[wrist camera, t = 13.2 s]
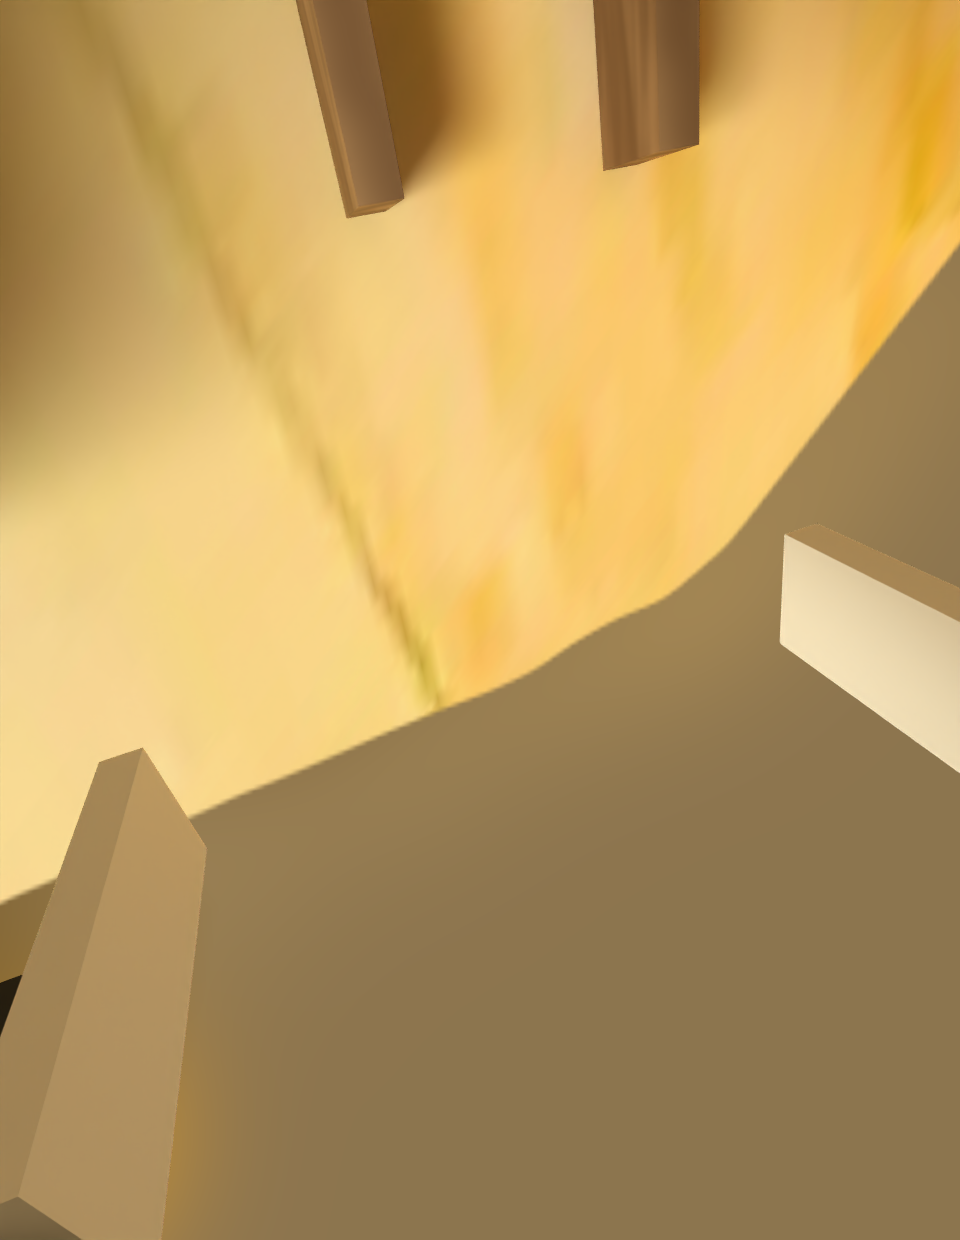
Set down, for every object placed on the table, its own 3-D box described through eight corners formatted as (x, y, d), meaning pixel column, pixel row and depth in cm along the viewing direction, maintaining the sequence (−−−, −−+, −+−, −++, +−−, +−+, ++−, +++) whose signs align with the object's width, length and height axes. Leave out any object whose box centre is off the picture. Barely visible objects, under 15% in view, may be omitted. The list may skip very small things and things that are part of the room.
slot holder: (346, 218, 32) (358, 206, 27) (267, -122, 26) (263, -219, 21) (637, 164, 35) (699, 144, 30) (625, -160, 29) (699, -254, 24)
